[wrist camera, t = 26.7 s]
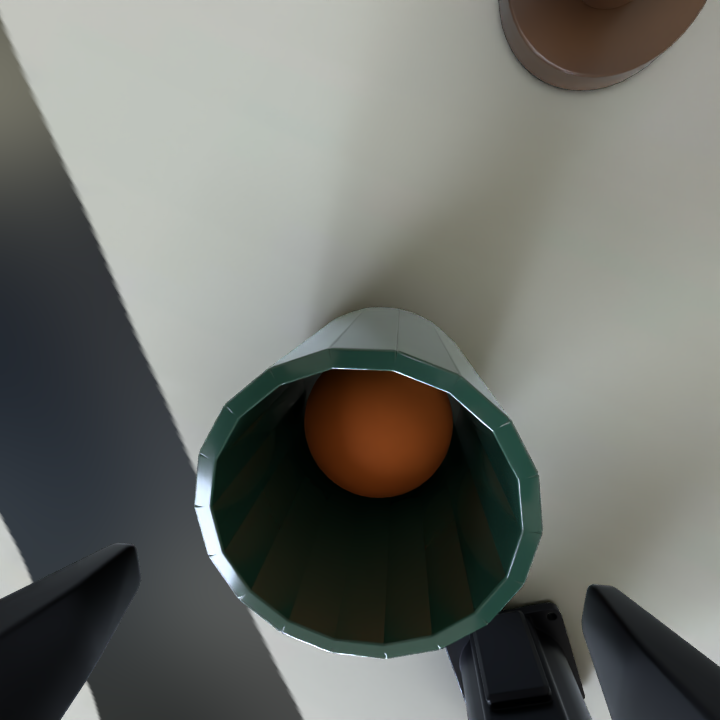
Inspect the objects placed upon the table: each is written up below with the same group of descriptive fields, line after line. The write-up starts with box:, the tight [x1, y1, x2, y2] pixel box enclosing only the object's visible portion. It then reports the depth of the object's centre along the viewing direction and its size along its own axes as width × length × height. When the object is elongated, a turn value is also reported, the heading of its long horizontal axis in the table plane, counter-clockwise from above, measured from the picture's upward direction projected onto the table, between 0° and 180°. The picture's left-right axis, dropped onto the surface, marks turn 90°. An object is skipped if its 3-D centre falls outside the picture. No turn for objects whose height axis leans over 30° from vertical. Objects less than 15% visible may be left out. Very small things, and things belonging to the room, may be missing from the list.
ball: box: [304, 369, 453, 498], centre depth 16 cm, size 6×6×6 cm
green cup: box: [194, 307, 543, 659], centre depth 14 cm, size 9×9×10 cm
